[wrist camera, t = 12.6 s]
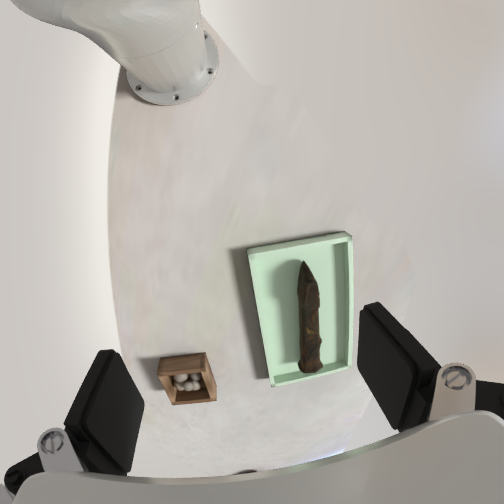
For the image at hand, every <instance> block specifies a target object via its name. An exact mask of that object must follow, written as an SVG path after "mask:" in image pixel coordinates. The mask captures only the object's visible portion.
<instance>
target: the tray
mask: <svg viewBox="0 0 504 504" xmlns="http://www.w3.org/2000/svg"><path fill="white" fill-rule="evenodd" d="M247 254H248V260H249V266H250V271H251V277H252V283H253V289H254V294H255V300H256V306H257V311H258V317H259V323H260V328H261V334H262V340H263V345H264V351H265V356H266V362H267V368H268V373H269V379H270V383H271V387H276V386H281V385H285V384H290V383H295V382H299V381H303V380H307V379H312V378H316V377H320V376H324V375H327V374H331V373H335V372H338V371H342V370H345V369H349V368H351V363H352V344H353V304H354V288H353V247H352V236H351V235H350V234H348V233H347V232H339V233H333V234H328V235H322V236H317V237H311V238H305V239H300V240H294V241H289V242H283V243H278V244H272V245H267V246H261V247H256V248H250V249H247ZM303 260H304V261H305V263H306V264H307V265H308V267H309V268H310V270H311V272H312V274H313V276H314V278H315V279H316V281H317V284H318V288H319V293H320V295H319V298H320V308H319V332H320V337H321V339H322V343H321V345H320V361H321V362H322V363H323V368H321V369H320V370H319V371H317V372H316V373H308V374H305V373H302V372H301V371H300V370H299V368H298V365H297V364H298V362H299V360H300V345H299V339H300V338H299V336H300V328H299V301H298V295H297V286H298V277H299V271H300V267H301V263H302V262H303Z"/></svg>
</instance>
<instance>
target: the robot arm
mask: <svg viewBox="0 0 504 504" xmlns="http://www.w3.org/2000/svg"><path fill="white" fill-rule="evenodd" d="M11 1H12V2H13V4H15V5H16V6H17V7H18V8H19V9H20V10H22V11H23V12H25V13H26V14H28V15H30V16H32V17H34V18H36V19H38V20H40V21H43V22H46V23H49V24H52V25H55V26H59V27H63V28H67V29H70V30H73V31H77V32H78V33H81V34H83V35H84V36H86V37H87V38H89V39H90V40H92V41H93V42H94V43H96V44H97V45H98V46H99V47H101V48H102V49H103V50H104V51H105V52H106V53H108V54H109V55H110V56H111V57H112V58H113V59H115V60H116V61H117V62H118V63H119V64H120V65H122V66H123V67H124V68H125V69H126V75H127V80H128V83H129V85H130V87H131V88H132V90H133V91H134V92H135V93H136V94H137V95H138V96H139V97H141V98H142V99H144V100H146V101H148V102H150V103H153V104H158V105H175V104H180V103H183V102H186V101H189V100H191V99H192V98H194V97H196V96H198V95H199V94H200V93H201V92H203V91H204V90H205V89H206V88H207V87H208V86H209V85H210V83H211V82H212V80H213V79H214V77H215V75H216V72H217V70H218V65H219V53H218V48H217V45H216V43H215V41H214V40H213V38H212V37H211V35H209V34H208V33H207V32H206V31H205V30H203V25H202V18H201V11H200V4H199V0H11ZM205 38H206V39H205ZM208 72H212V73H211V74H208ZM139 88H141V90H139ZM176 97H179V99H178V100H175V98H176ZM357 366H358V370H359V372H360V373H361V375H362V377H363V378H364V380H365V382H366V383H367V385H368V387H369V389H370V390H371V392H372V394H373V395H374V397H375V399H376V400H377V402H378V404H379V406H380V407H381V409H382V411H383V413H384V414H385V416H386V418H387V420H388V421H389V423H390V425H391V427H392V428H393V429H394V430H396V429H398V431H399V432H400V433H398V434H396V435H393V436H391V437H388V438H385V439H383V440H380V441H378V442H375V443H372V444H369V445H366V446H363V447H360V448H357V449H354V450H351V451H348V452H344V453H341V454H338V455H334V456H331V457H327V458H323V459H320V460H316V461H312V462H307V463H303V464H299V465H294V466H289V467H284V468H279V469H273V470H267V471H261V472H254V473H247V474H238V475H229V476H217V477H200V478H148V477H131V476H127V472H130V471H131V467H132V462H133V457H134V452H135V447H136V442H137V438H138V433H139V428H140V424H141V420H142V415H143V411H144V400H143V398H142V396H141V394H140V392H139V391H138V389H137V387H136V385H135V383H134V381H133V380H132V378H131V376H130V374H129V372H128V370H127V368H126V366H125V364H124V362H123V360H122V358H121V356H120V354H119V353H116V352H115V351H114V350H113V349H110V350H100V351H99V352H98V354H97V356H96V358H95V360H94V362H93V364H92V365H91V367H90V369H89V371H88V373H87V375H86V377H85V379H84V381H83V383H82V385H81V387H80V389H79V391H78V393H77V396H76V398H75V400H74V402H73V404H72V406H71V408H70V410H69V413H68V415H67V417H66V419H65V422H64V425H65V426H66V427H65V430H63V429H60V428H52V429H49V430H47V431H45V432H44V433H43V434H42V435H41V436H40V438H39V440H38V444H37V448H38V452H37V453H36V454H33V455H32V456H30V457H28V458H26V459H24V460H23V461H21V462H19V463H17V464H16V465H13V466H12V467H10V468H9V469H8V470H7V472H6V474H5V478H4V482H5V486H4V485H3V484H0V504H504V384H502V383H494V382H487V381H479V380H476V377H475V373H474V372H473V370H472V369H470V367H468V366H467V365H464V364H461V363H450V364H447V365H445V366H443V367H441V366H440V365H439V364H438V362H437V361H436V360H435V359H434V358H433V357H432V356H431V355H430V354H429V353H428V351H427V350H426V349H425V348H424V347H423V346H422V345H421V344H420V343H419V342H418V341H417V340H416V339H415V338H414V336H413V335H412V334H411V333H410V332H409V331H408V330H407V329H405V328H404V327H403V326H402V325H401V324H400V323H399V322H398V321H397V320H396V319H395V318H394V317H393V316H392V315H391V314H390V313H389V312H388V310H387V309H386V308H385V307H384V306H383V305H382V304H381V303H379V302H375V303H371V304H368V305H365V306H364V308H363V310H361V311H360V317H359V340H358V356H357Z"/></svg>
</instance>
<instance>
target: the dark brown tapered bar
mask: <svg viewBox="0 0 504 504" xmlns="http://www.w3.org/2000/svg"><path fill="white" fill-rule="evenodd" d="M297 295H298V301H299V328H300V336H299V338H300V339H299V345H300V360H299V362H298V364H297V365H298V368H299V370H300V371H301V372H302V373H305V374H308V373H316V372H317V371H319V370H320V369H321V368H323V363H322V362H321V361H320V345H321V343H322V339H321V337H320V332H319V308H320V298H319V295H320V293H319V288H318V284H317V281H316V279H315V278H314V276H313V274H312V272H311V270H310V268H309V267H308V265H307V264H306V263H305V261H304V260H303V262H302V263H301V267H300V271H299V277H298V286H297Z"/></svg>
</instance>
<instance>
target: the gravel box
mask: <svg viewBox="0 0 504 504" xmlns="http://www.w3.org/2000/svg"><path fill="white" fill-rule="evenodd" d="M157 375H158V377H159V379H160V381H161V383H162V385H163V387H164V389H165V391H166V393H167V395H168V397H169V399H170V401H171V403H172V405H181V404H192V403H202V402H211V401H216V383H215V380H214V377H213V374H212V371H211V368H210V365H209V362H208V359H207V356H206V353H198V354H191V355H183V356H175V357H166V358H160V362H159V366H158V370H157Z"/></svg>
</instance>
